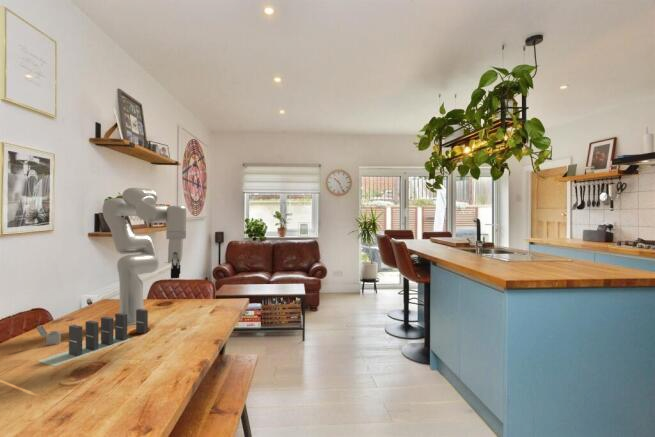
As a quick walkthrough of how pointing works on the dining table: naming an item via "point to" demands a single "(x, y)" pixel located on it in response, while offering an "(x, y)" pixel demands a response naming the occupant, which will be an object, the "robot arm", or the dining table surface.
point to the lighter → (50, 336)
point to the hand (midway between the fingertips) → (175, 276)
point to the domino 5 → (142, 321)
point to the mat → (67, 357)
